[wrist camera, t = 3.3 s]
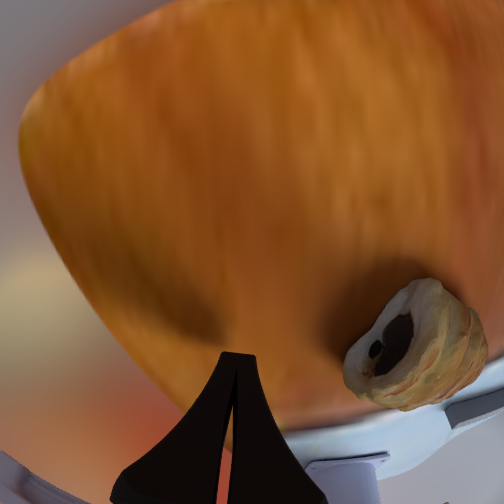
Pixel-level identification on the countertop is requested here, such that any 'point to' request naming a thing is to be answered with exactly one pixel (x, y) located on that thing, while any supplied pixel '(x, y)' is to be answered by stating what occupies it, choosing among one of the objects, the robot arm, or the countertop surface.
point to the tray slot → (475, 409)
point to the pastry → (417, 349)
